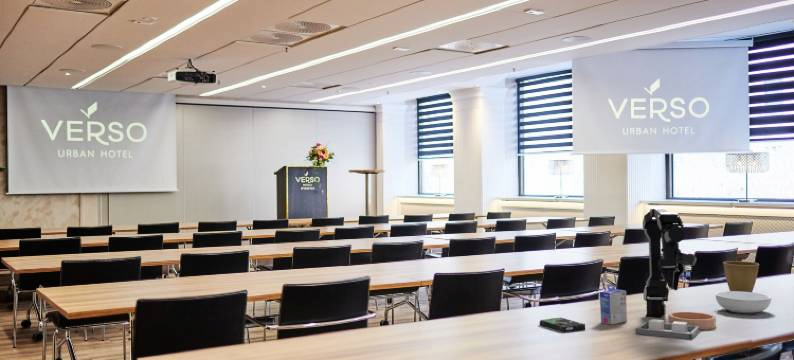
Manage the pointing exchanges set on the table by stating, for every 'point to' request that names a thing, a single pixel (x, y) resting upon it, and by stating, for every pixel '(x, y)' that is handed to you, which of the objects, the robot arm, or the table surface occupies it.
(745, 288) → the plant pot
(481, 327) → the table surface
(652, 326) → the white matte cube
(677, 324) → the pale grey cubic block
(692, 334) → the parts tray
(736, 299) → the serving bowl
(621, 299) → the ink cartridge box
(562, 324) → the disk drive
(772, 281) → the table surface
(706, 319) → the bowl
